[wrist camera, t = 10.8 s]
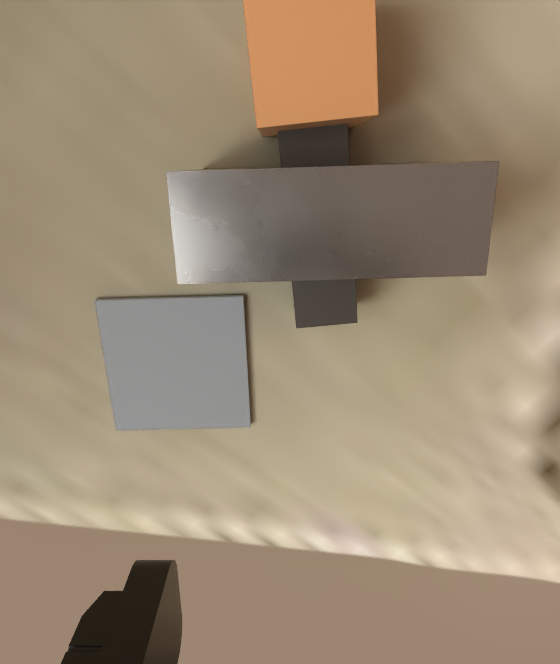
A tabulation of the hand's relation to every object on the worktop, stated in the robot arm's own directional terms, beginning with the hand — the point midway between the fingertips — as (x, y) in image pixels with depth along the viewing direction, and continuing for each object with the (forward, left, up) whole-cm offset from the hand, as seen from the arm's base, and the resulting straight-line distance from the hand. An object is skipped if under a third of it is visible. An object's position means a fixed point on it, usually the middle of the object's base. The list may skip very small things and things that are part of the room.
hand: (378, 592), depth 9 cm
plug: (0, +7, -18) cm, 20 cm away
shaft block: (0, +6, -18) cm, 19 cm away
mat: (-8, -3, -18) cm, 20 cm away
